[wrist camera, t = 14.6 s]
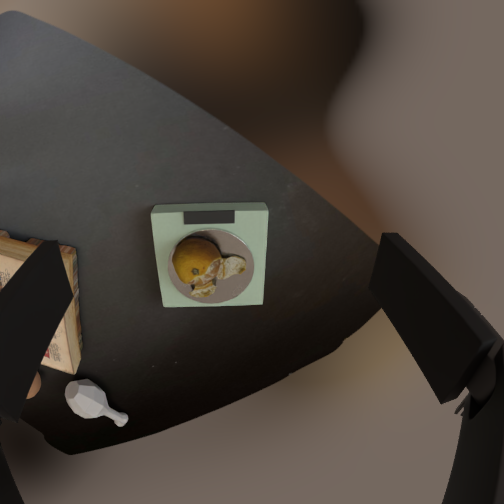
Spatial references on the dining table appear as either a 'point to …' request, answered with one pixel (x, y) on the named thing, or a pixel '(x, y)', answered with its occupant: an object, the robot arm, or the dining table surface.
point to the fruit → (203, 265)
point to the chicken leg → (91, 401)
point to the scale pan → (227, 247)
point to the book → (69, 330)
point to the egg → (34, 386)
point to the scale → (210, 216)
